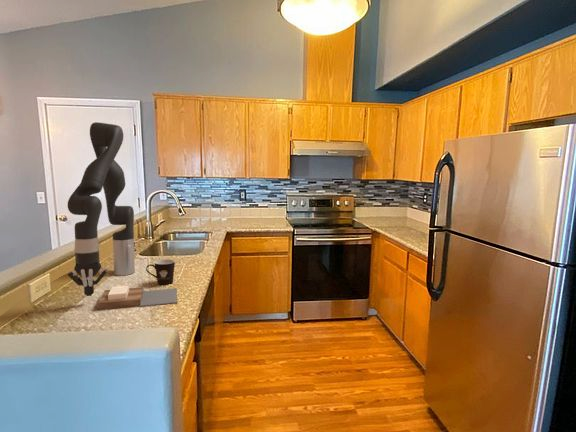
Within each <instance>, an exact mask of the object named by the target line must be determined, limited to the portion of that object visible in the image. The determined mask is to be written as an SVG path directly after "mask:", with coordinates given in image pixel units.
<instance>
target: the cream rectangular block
mask: <svg viewBox="0 0 576 432" xmlns="http://www.w3.org/2000/svg"><path fill="white" fill-rule="evenodd" d="M129 288H130V285H119V286H118V285H116V286H111V289H109V290H110V292H109V294H108V300H114V299H125V298H127V295H128V292H129Z"/></svg>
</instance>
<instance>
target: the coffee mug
mask: <svg viewBox="0 0 576 432" xmlns="http://www.w3.org/2000/svg"><path fill="white" fill-rule="evenodd" d="M175 264H176V260H174V259H170V258H167V259H166V258H165V259H158V260H156V261H154V264H148V265H146V267H145V271H146V272H147V273H148V274H149V275H151V276H153V277H155V278H156V280H157V285H158V286H162V285H163V286H170V285H172V284H173V283H174V273H175V267H176V266H175ZM149 267H153V268H154V270H155V274H156V275H155V274H154V273H151V272H150V271H149V270H148V268H149ZM169 284H170V285H169ZM163 286H162V287H163Z"/></svg>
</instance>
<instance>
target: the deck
mask: <svg viewBox="0 0 576 432" xmlns="http://www.w3.org/2000/svg"><path fill="white" fill-rule="evenodd" d="M110 290H111V289H105V290H104V291H103V293H102V294H101V296H100V298H99V299H98V302H97V304H96V305H97V311H102V310H112V309H113V310H114V309H123V308H132V307H133V308H134V307H135V308H136V307H140V304H141V300H142V296H143V292H144V291H145V290H144V287H143V286H141V287H129V292H128V295H127V298H125V299H114V300H108V294H109V292H110Z"/></svg>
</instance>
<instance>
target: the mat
mask: <svg viewBox="0 0 576 432" xmlns="http://www.w3.org/2000/svg"><path fill="white" fill-rule="evenodd" d="M172 304H173V305H174V304H178V289H177V287H176V288H174V287H173V288H164V289H151V290H144V292H143V296H142V300H141V304H140V306H139V307H141V308H143V307H151V306H154V307H155V306H163V305H172Z"/></svg>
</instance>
